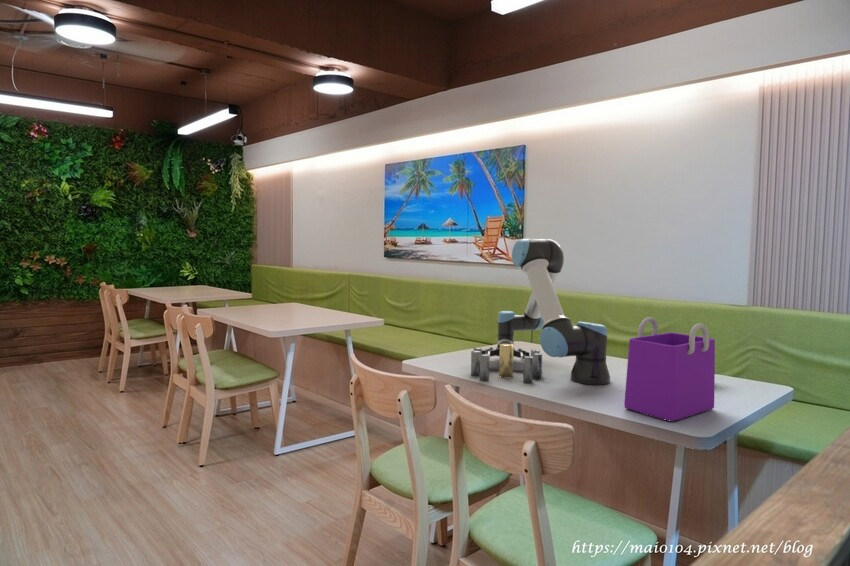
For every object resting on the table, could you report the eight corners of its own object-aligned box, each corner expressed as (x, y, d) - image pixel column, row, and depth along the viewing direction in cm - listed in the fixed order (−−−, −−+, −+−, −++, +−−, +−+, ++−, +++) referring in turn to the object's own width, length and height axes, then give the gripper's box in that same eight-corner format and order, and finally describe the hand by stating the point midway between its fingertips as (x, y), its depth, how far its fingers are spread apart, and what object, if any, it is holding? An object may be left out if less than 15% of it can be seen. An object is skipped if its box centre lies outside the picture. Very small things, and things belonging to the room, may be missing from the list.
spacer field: (540, 373, 229) (540, 349, 228) (543, 383, 212) (543, 358, 211) (472, 370, 233) (472, 347, 232) (469, 380, 216) (470, 355, 215)
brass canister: (515, 376, 223) (516, 345, 222) (506, 378, 220) (507, 346, 219) (505, 373, 227) (505, 343, 226) (496, 375, 224) (496, 344, 223)
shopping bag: (689, 427, 163) (694, 328, 161) (619, 411, 178) (622, 320, 176) (717, 407, 183) (722, 319, 181) (652, 394, 198) (655, 313, 196)
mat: (523, 364, 246) (523, 362, 246) (524, 372, 230) (525, 370, 230) (488, 362, 248) (488, 360, 248) (486, 370, 233) (487, 368, 232)
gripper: (533, 357, 244) (535, 368, 223) (477, 355, 248) (474, 365, 227) (533, 341, 243) (536, 350, 222) (477, 339, 247) (475, 348, 226)
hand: (505, 358), depth 224 cm, fingers open, 13 cm apart
